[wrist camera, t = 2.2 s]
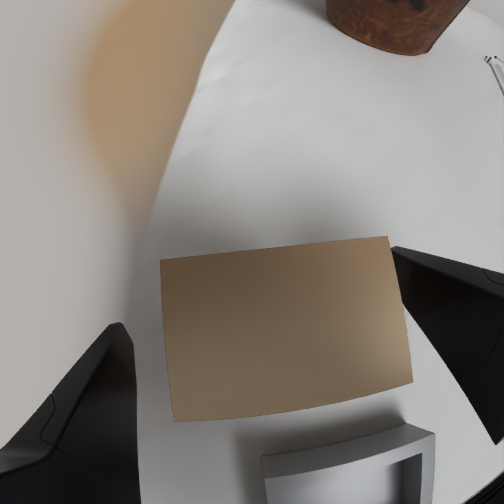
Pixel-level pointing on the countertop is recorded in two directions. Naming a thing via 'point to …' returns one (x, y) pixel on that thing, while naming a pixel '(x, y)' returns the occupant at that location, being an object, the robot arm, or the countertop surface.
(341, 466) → the end cap
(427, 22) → the brown tapered cylinder
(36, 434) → the robot arm
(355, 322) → the slat
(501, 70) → the baseboard
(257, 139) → the countertop surface
